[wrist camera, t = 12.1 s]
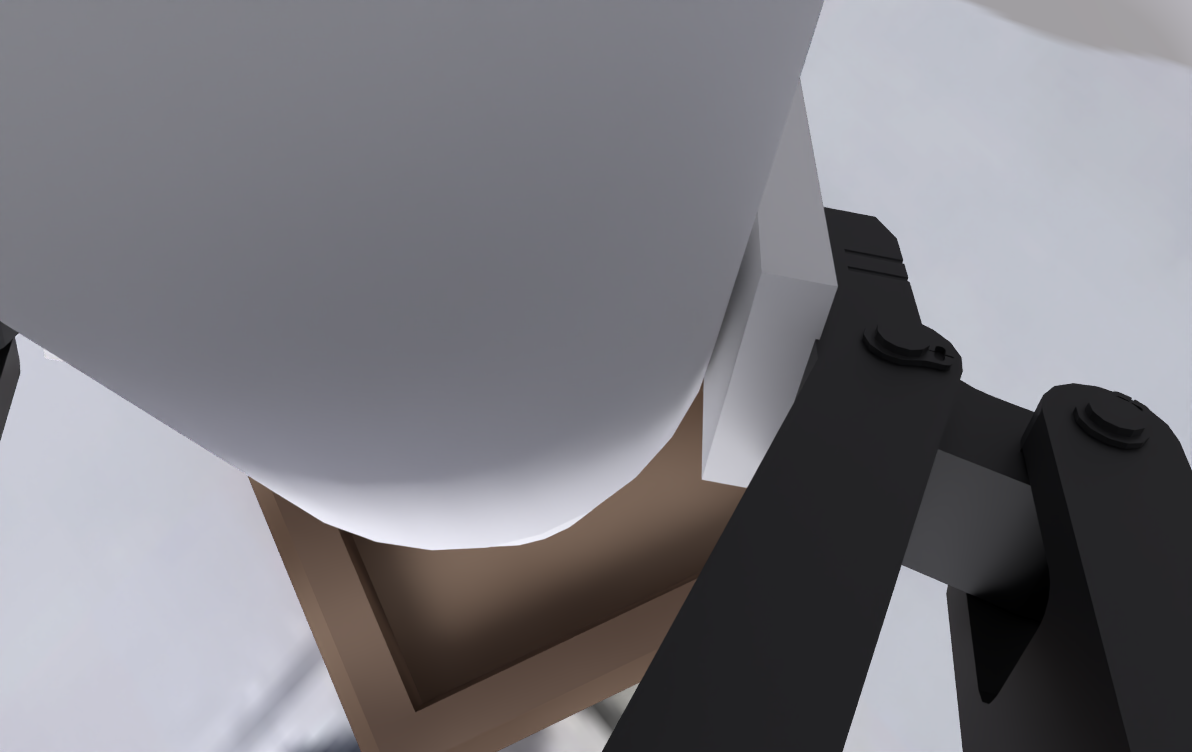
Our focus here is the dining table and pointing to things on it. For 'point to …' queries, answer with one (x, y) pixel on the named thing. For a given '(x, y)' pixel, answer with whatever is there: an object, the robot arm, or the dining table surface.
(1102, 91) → the dining table surface
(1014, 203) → the dining table surface
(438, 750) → the walnut stand
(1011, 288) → the dining table surface
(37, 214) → the champagne flute
